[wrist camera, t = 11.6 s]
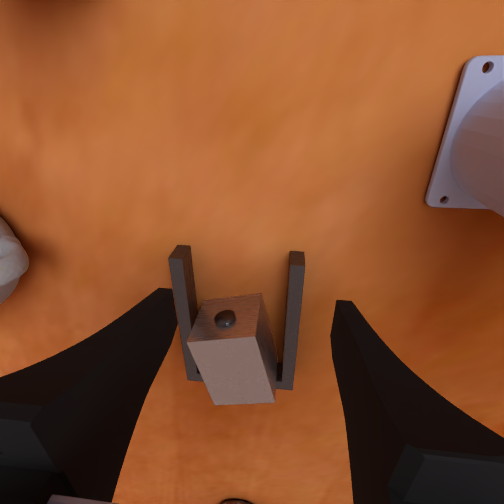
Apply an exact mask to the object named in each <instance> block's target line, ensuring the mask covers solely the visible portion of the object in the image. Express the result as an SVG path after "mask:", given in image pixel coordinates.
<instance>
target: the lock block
mask: <svg viewBox="0 0 504 504" xmlns="http://www.w3.org/2000/svg"><path fill="white" fill-rule="evenodd" d="M187 345H188V347H189V349H190V351H191V354H192V356H193V358H194V360H195V362H196V365H197V367H198V369H199V371H200V374H201V376H202V378H203V380H204V383H205V385H206V387H207V389H208V392H209V394H210V396H211V398H212V401H213V403H214V405H231V404H255V403H275V395H276V375H277V355H278V354H277V350H276V346H275V342H274V338H273V335H272V331H271V327H270V323H269V320H268V316H267V312H266V308H265V304H264V301H263V297H262V293H256V294H248V295H240V296H231V297H223V298H215V299H207V300H204V301H203V303H202V306H201V308H200V311H199V313H198V316H197V318H196V321H195V323H194V326H193V328H192V330H191V333H190V335H189V338H188V340H187Z"/></svg>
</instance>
